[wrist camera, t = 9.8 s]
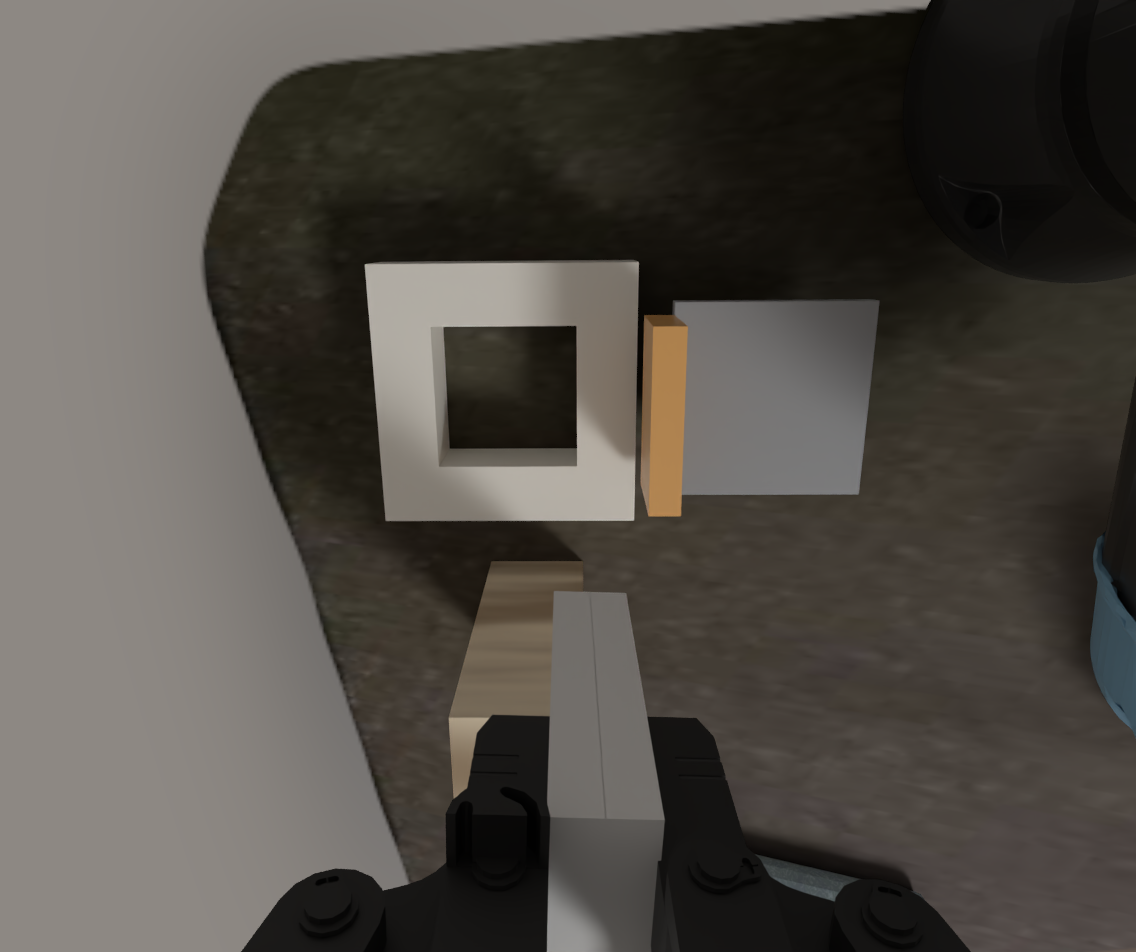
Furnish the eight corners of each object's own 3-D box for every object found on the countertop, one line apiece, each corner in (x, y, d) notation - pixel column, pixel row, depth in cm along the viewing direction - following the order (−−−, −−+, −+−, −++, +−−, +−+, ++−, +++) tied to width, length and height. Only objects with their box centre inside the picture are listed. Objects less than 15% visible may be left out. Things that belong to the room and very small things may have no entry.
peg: (491, 561, 38) (448, 717, 26) (583, 561, 38) (584, 718, 26) (494, 642, 40) (455, 828, 27) (583, 642, 40) (584, 829, 27)
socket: (382, 261, 34) (364, 264, 31) (634, 259, 34) (638, 262, 31) (400, 499, 37) (385, 521, 35) (629, 498, 37) (633, 520, 34)
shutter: (642, 300, 31) (653, 311, 27) (872, 299, 31) (922, 310, 27) (639, 489, 34) (648, 528, 29) (852, 488, 34) (895, 528, 29)
